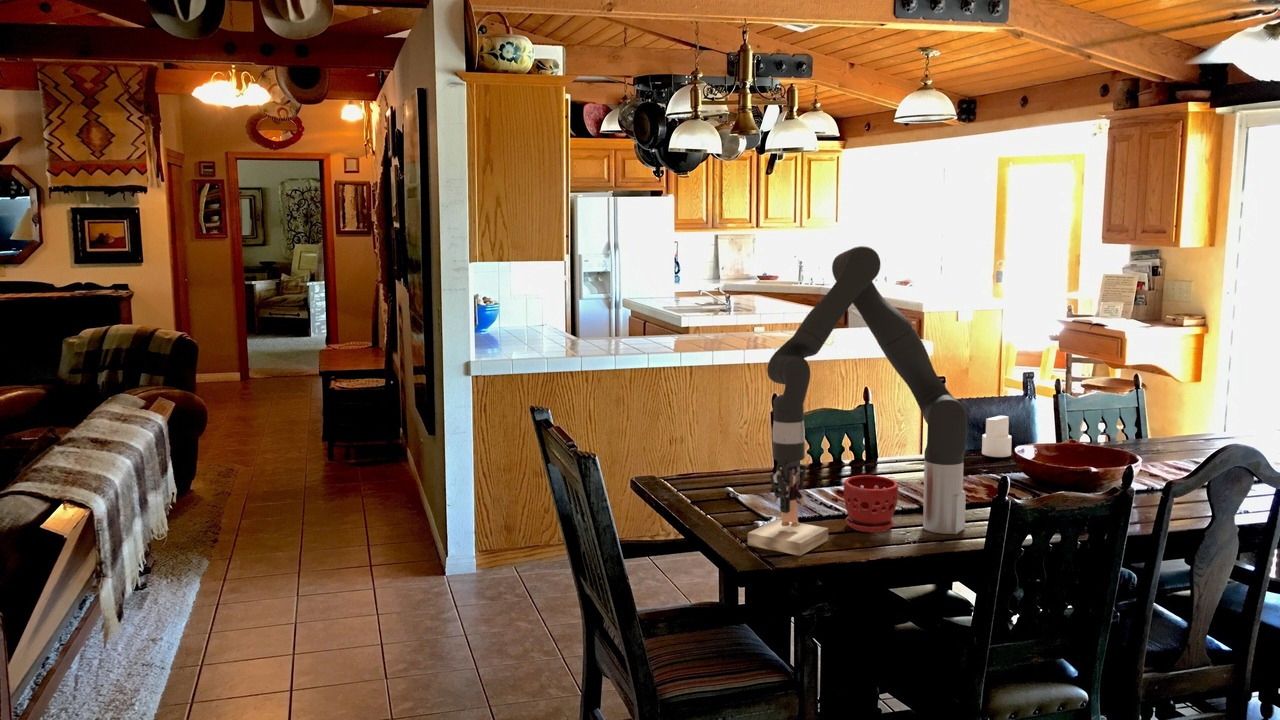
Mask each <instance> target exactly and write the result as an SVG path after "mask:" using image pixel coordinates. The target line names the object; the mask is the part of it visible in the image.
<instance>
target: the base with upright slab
mask: <svg viewBox="0 0 1280 720" xmlns="http://www.w3.org/2000/svg"><path fill="white" fill-rule="evenodd" d="M1009 418H1010V416H1007V415H996V416H993V417H988V418H986V419H985V433H984V434H982V437H981V442H982V443H981V445H982V446H981V454H982V455H984V456H986V457H991V458H992V457H993V458H1005V457H1006V458H1007V457H1011V456H1012V435H1010V434H1009V422H1010V419H1009Z"/></svg>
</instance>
